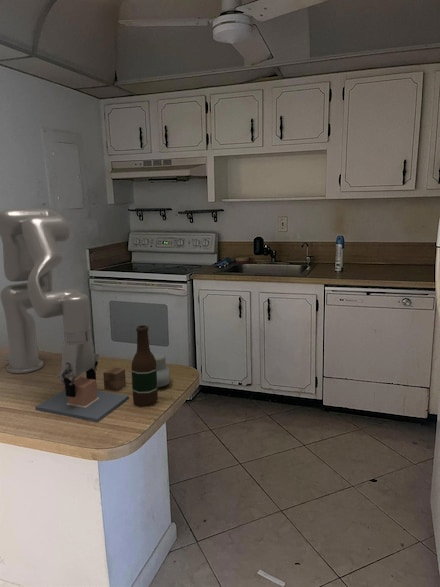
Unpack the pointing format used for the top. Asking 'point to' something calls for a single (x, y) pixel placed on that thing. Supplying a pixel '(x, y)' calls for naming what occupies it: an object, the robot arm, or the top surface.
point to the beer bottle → (144, 371)
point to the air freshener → (162, 370)
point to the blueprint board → (89, 412)
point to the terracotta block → (84, 392)
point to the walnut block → (114, 379)
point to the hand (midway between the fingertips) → (81, 389)
